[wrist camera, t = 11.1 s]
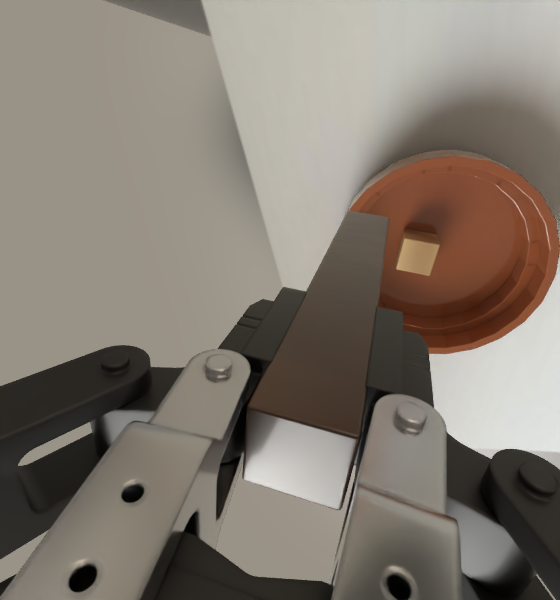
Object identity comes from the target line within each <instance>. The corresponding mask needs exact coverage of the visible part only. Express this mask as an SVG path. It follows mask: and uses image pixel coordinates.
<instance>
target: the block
mask: <svg viewBox="0 0 560 600" xmlns="http://www.w3.org/2000/svg"><path fill="white" fill-rule="evenodd" d="M439 247H440V243H439V240H438V236H437V234H432V233H427V232H421V231H416V230H410V229H404V230H403V234H402V238H401V241H400V245H399V249H398V252H397V256H396V269H397V270H402V271H407V272H412V273H417V274H422V275H427V276H430V274H431V271H432V268H433V265H434V262H435V259H436V256H437V253H438V250H439Z"/></svg>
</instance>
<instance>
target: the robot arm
mask: <svg viewBox="0 0 560 600" xmlns="http://www.w3.org/2000/svg"><path fill="white" fill-rule="evenodd" d="M306 294H307V292H306V291H301V290H296V289H291V288H286V287H283V288H282V290H281V291H280V293H279V294H278V296H277V297H276V299H275V301H269V300H264V299H262V300H260V301H258V302H256V303H254V304H252V305H250V306H249V308H248V309H247V310H246V312H245V313H244V314H243V317H241V318H240V320H239V321H238V322H237V325H235V327H234V328H233V329H232V330H231V332H230V333H229V335H228V336H227V337H226V338H225V340H224V341H223V342H222V344H221V345H220V346H219V348H218V349H213V350H207V351H204V352H202V353H199V354H197V355H196V356H194V357H193V358H192V359H191V360H190V361H189V362H188V364H187V365H186V367H184V368H160V367H151V366H150V358H149V355H148V354H147V353H146V352H145V351H144V350H142V349H140V348H137V347H133V346H126V345H121V346H112V347H107V348H104V349H101V350H98V351H96V352H93V353H90V354H87V355H85V356H82V357H79V358H76V359H74V360H71V361H68V362H66V363H63V364H60V365H57V366H55V367H52V368H49V369H46V370H44V371H41V372H38V373H35V374H33V375H30V376H27V377H25V378H22V379H19V380H16V381H14V382H11V383H8V384H5V385H3V386H0V559H2V558H3V557H5V556H6V555H8V554H10V553H11V552H13V551H15V550H16V549H18V548H20V547H21V546H23V545H24V544H26V543H28V542H29V541H31V540H32V539H34V538H36V537H37V536H39V535H41V534H42V533H44V532H45V531H47V530H49V529H50V530H49V531H48V532H47V534H46V535H45V536H44V538H43V539H42V540H41V542H40V543H39V545H38V546H37V547H36V549H35V550H34V552H33V553H32V554H31V556H30V557H29V558H28V560H27V561H26V562H25V564H24V565H23V566H22V568H21V569H20V571H19V572H18V573H17V574H16V575H14V576H12V577H10V578H8V579H6V580H5V581H3V582H1V583H0V600H553V599H552V597H551V596H550V595H549V593H548V592H547V590H546V589H545V587H544V586H543V585H542V583H541V582H540V580H539V579H538V578H537V576H536V574H538V575H539V577H540V578H541V579H542V581H543V582H544V584H545V585H546V586H547V588H548V589H549V591H550V592H551V593H552V595H553V596H554V597H555V599H556V600H560V470H559V469H558V468H557V467H555V466H554V465H552V464H551V463H549V462H548V461H546V460H545V459H543V458H541V457H539V456H537V455H534V454H532V453H529V452H526V451H522V450H517V449H505V450H501V451H499V452H497V453H496V454H495V455H494V456H493V458H492V459H490V458H488V457H486V456H484V455H482V454H480V453H478V452H476V451H474V450H472V449H470V448H468V447H467V446H465V445H463V444H461V443H460V442H458V441H457V440H455V439H454V438H453V437H452V436H450V435H449V434H448V433H447V430H446V425H445V422H444V420H443V418H442V416H441V415H440V414H439V413H438V412H437V411H436V410H435V409H434V403H433V393H432V382H431V372H430V361H429V351H428V345H427V344H426V342H425V341H424V340H423V338H422V337H421V335H420V334H419V333H415V332H410V331H405V330H403V312H400V311H395V310H391V309H386V308H381V307H377V308H376V316H375V323H374V330H373V338H372V345H371V352H370V359H369V367H368V374H367V381H366V387H367V396H366V404H365V411H364V419H363V427H362V434H361V440H360V444H359V447H358V451H357V455H356V458H355V462H354V465H356V471H355V479H354V482H353V486H352V489H351V493H350V497H349V501H348V505H347V509H346V514H345V518H344V522H343V526H342V530H341V534H340V538H339V542H338V546H337V550H336V554H335V559H334V563H333V567H332V571H331V575H330V579H329V583H325V582H322V581H308V580H295V579H281V578H266V577H255V576H252V575H249V574H247V573H245V572H244V571H243V570H242V569H240V568H239V567H238V566H236V565H235V564H233V563H232V562H231V561H229V560H228V559H227V558H225V557H224V556H223V555H221V554H220V553H219V552H217V551H216V546H217V541H218V537H219V533H220V530H221V526H222V524H223V521H224V518H225V515H226V512H227V509H228V506H229V503H230V500H231V497H232V494H233V491H234V488H235V485H236V482H237V479H238V476H239V473H240V470H241V467H242V464H243V459H244V444H245V428H246V413H247V405H248V403H249V401H250V399H251V397H252V395H253V393H254V391H255V389H256V387H257V386H258V384H259V382H260V380H261V378H262V376H263V374H264V372H265V370H266V368H267V366H268V364H269V363H271V362H272V360H273V358H274V356H275V355H276V353H277V351H278V349H279V347H280V345H281V343H282V341H283V339H284V337H285V335H286V333H287V331H288V329H289V327H290V325H291V323H292V321H293V319H294V317H295V315H296V313H297V311H298V309H299V307H300V305H301V303H302V301H303V299H304V297H305V296H306ZM88 422H90V423H91V428H92V433H90V434H88V435H87V436H85V437H83V438H80V439H79V440H77V441H75V442H73V443H70V444H68V445H66V446H65V447H62V448H61V449H58V450H56V451H54V452H52V453H50V454H48V455H46V456H44V457H42V458H40V459H38V460H36V461H34V462H33V463H30V464H28V465H24V466H18V463H19V462H20V460H21V459H22V458H23V457H24V455H26V453H28V452H29V451H31V450H32V449H34V448H36V447H38V446H40V445H42V444H44V443H46V442H48V441H51V440H53V439H55V438H57V437H59V436H61V435H63V434H65V433H67V432H69V431H71V430H73V429H75V428H78V427H80V426H82V425H84V424H86V423H88Z"/></svg>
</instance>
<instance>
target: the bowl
mask: <svg viewBox="0 0 560 600" xmlns="http://www.w3.org/2000/svg"><path fill="white" fill-rule="evenodd" d="M348 211H354V212H360V213H366V214H373V215H379V216H385V217H389V227H388V234H387V242H386V250H385V258H384V265H383V273H382V281H381V288H380V296H379V304H378V307H381V308H386V309H391V310H395V311H400V312H403V330H405V331H410V332H415V333H419V334H420V335H421V337H422V338H423V340H424V341H425V342H426V344H427V345H428V351H429V354H447V353H448V354H449V353H455V352H460V351H466V350H472V349H476V348H478V347H481V346H483V345H486V344H488V343H490V342H493V341H495V340H498V339H500V338H502V337H503V336H505V335H506V334H508V333H509V332H510V331H512V330H513V329H515V328H516V327H518V326H519V325H521V324H522V323H523V322H525V321H526V319H527V318H528V317H529V316H530V315H531V314H532V313H533V312H534V311H535V309H536V308H537V307H538V306H539V305H540V304H541V303H542V301H543V300H544V298H545V296H546V294H547V292H548V290H549V288H550V286H551V284H552V282H553V280H554V278H555V275H556V270H557V264H558V258H559V252H560V244H559V238H558V232H557V226H556V221H555V218H554V216H553V214H552V212H551V211H550V209H549V207H548V205H547V203H546V202H545V200H544V198H543V196H542V195H541V193H540V192H538V191H537V190H536V189H535V188H534V187H533V186H532V185H531V184H530V183H528V182H527V181H526V180H525V179H524V178H523V177H522V176H521V175H520V174H518V173H517V172H515V171H513V170H512V169H510V168H508V167H507V166H505V165H503V164H501V163H499V162H497V161H495V160H492V159H490V158H488V157H486V156H483V155H481V154H478V153H473V152H466V151H459V150H452V149H450V150H449V149H447V150H439V151H431V152H422V153H418V154H416V155H413V156H410V157H408V158H405V159H403V160H400V161H397V162H395V163H393V164H391V165H390V166H388V167H387V168H386V169H384V170H383V171H381V172H380V173H378V174H377V175H376V176H374V177H373V178H371V179H370V180H369V181H368V182H367V184H366V185H365V186H364V187H363V188H362V189H361V191H360V192H359V193H358V194H357V195H356V196H355V198H354V199H353V201H352V203H351V205H350V207H349V209H348ZM348 211H347V212H348ZM346 214H347V213H346ZM345 216H346V215H345ZM344 218H345V217H344ZM343 220H344V219H343ZM342 222H343V221H342ZM404 229H410V230H416V231H421V232H427V233H432V234H437V236H438V240H439V243H440V247H439V250H438V253H437V256H436V259H435V262H434V265H433V268H432V271H431V274H430V276H427V275H422V274H417V273H412V272H407V271H402V270H397V269H396V256H397V252H398V249H399V245H400V241H401V238H402V234H403V230H404Z"/></svg>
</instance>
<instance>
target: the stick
mask: <svg viewBox="0 0 560 600" xmlns="http://www.w3.org/2000/svg"><path fill="white" fill-rule="evenodd" d="M388 227H389V217H385V216H379V215H373V214H366V213H360V212H354V211H348V212H347V214H346V216H345V218H344V220H343V222H342V223H341V225H340V227H339V229H338V231H337V233H336V235H335V237H334V239H333V241H332V243H331V245H330V247H329V249H328V250H327V252H326V254H325V256H324V258H323V260H322V262H321V264H320V266H319V268H318V270H317V272H316V274H315V276H314V277H313V279H312V281H311V283H310V285H309V287H308V289H307V291H306V292H307V294H306V296H305V297H304V299H303V301H302V303H301V305H300V307H299V309H298V311H297V313H296V315H295V317H294V319H293V321H292V323H291V325H290V327H289V329H288V331H287V333H286V335H285V337H284V339H283V341H282V343H281V345H280V347H279V349H278V351H277V353H276V355H275V356H274V358H273V360H272V362H271V363H269V364H268V366H267V368H266V370H265V372H264V374H263V376H262V378H261V380H260V382H259V384H258V386H257V387H256V389H255V391H254V393H253V395H252V397H251V399H250V401H249V403H248V405H247V413H246V428H245V444H244V459H243V474H242V476H243V479H244V480H246V481H249V482H252V483H255V484H258V485H261V486H265V487H268V488H270V489H274V490H277V491H280V492H283V493H286V494H289V495H292V496H295V497H299V498H301V499H305V500H308V501H311V502H314V503H317V504H320V505H323V506H326V507H329V508H332V509H336V510H340V509H341V508H342V506H343V503H344V499H345V495H346V492H347V488H348V484H349V480H350V477H351V473H352V469H353V466H354V462H355V458H356V455H357V451H358V447H359V444H360V440H361V434H362V427H363V419H364V411H365V404H366V396H367V387H366V381H367V374H368V367H369V359H370V352H371V345H372V338H373V330H374V323H375V316H376V308H377V307H378V304H379V296H380V288H381V281H382V273H383V265H384V258H385V250H386V242H387V234H388Z"/></svg>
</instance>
